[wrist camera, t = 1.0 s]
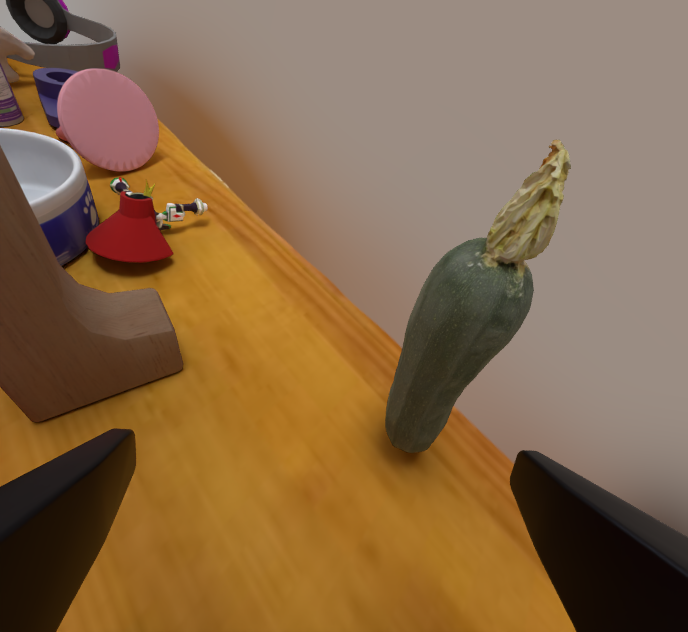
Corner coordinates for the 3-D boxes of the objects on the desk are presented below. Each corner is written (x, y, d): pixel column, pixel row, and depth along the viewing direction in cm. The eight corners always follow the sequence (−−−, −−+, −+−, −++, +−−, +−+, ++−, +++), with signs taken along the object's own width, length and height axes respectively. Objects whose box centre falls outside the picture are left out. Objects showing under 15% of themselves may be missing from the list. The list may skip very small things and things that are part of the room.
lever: (42, 90, 53) (34, 65, 51) (95, 96, 56) (90, 72, 54) (34, 126, 46) (26, 98, 44) (96, 131, 49) (91, 104, 46)
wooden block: (166, 327, 29) (92, 56, 16) (185, 371, 27) (116, 94, 14) (24, 371, 25) (-226, 52, 12) (32, 427, 23) (-265, 106, 10)
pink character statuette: (37, 118, 35) (-4, 112, 41) (127, 190, 43) (80, 176, 50) (101, 44, 37) (52, 48, 43) (175, 126, 45) (125, 120, 52)
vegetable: (398, 488, 24) (603, 205, 9) (348, 439, 26) (459, 136, 11) (436, 442, 26) (645, 165, 12) (389, 401, 28) (522, 114, 14)
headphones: (-66, 60, 54) (83, 107, 57) (-100, -18, 48) (70, 39, 51) (29, 30, 68) (144, 69, 71) (12, -33, 62) (139, 12, 65)
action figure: (208, 231, 40) (211, 179, 37) (168, 276, 32) (167, 213, 29) (117, 208, 39) (113, 153, 36) (51, 249, 31) (39, 181, 28)
